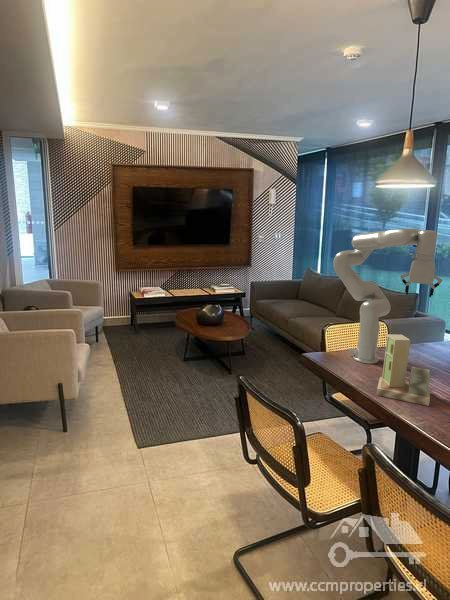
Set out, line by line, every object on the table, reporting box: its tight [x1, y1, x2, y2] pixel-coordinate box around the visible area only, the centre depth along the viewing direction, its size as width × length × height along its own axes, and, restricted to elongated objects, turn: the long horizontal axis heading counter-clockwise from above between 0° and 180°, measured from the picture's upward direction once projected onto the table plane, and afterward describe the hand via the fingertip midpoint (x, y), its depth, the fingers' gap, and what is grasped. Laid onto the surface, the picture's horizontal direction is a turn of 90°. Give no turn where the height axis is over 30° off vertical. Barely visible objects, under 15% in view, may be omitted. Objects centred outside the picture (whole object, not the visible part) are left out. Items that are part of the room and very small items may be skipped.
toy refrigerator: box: [381, 333, 411, 387], centre depth 180 cm, size 8×7×21 cm
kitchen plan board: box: [376, 366, 431, 407], centre depth 179 cm, size 20×14×11 cm
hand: (418, 295), depth 194 cm, fingers open, 9 cm apart
